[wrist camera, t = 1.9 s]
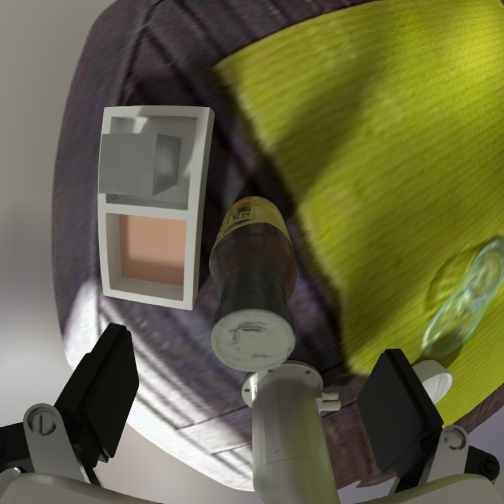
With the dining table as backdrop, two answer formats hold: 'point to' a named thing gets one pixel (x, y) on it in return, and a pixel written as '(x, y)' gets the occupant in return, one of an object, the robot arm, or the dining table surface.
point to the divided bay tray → (157, 213)
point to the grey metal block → (138, 163)
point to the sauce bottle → (253, 287)
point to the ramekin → (433, 378)
